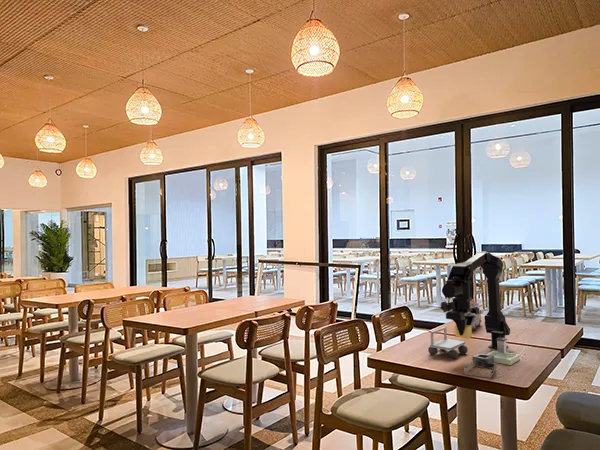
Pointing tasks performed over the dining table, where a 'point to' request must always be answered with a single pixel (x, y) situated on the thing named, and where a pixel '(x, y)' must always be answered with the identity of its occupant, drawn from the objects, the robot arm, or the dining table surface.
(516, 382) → the dining table surface
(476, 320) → the toy vehicle
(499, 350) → the stop pin
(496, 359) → the tray
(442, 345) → the trolley
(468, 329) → the yellow block
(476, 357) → the pin bracket
